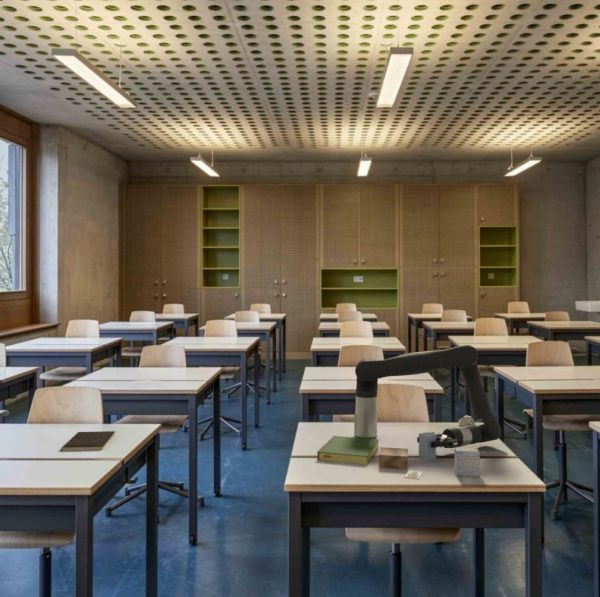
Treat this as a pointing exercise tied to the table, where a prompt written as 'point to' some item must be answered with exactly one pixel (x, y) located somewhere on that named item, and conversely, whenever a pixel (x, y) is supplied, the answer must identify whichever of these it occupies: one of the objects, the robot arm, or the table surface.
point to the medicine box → (467, 462)
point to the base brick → (393, 458)
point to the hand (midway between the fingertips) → (424, 442)
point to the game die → (466, 421)
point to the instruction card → (413, 474)
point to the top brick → (427, 446)
